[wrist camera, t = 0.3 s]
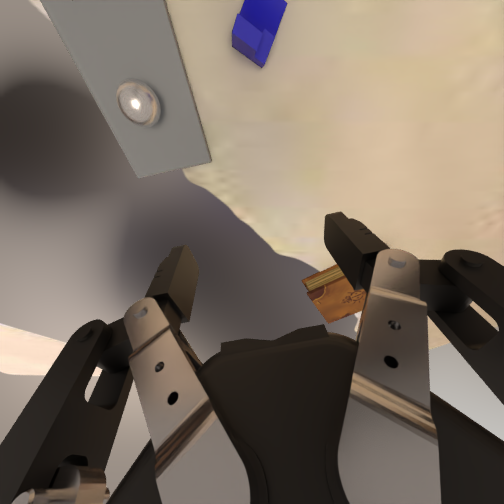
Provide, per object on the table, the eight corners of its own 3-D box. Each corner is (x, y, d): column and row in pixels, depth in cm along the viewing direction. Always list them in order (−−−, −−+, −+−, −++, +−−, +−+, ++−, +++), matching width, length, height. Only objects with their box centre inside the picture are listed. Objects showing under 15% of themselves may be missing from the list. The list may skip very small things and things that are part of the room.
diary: (322, 309, 65) (329, 324, 60) (301, 279, 55) (307, 295, 50) (391, 281, 59) (405, 296, 54) (382, 241, 48) (398, 255, 44)
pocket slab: (-34, -152, 16) (-55, -172, 15) (107, -198, 16) (97, -222, 14) (141, 175, 34) (138, 178, 32) (211, 160, 33) (210, 162, 32)
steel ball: (118, 85, 25) (97, 81, 21) (154, 76, 25) (139, 71, 21) (139, 129, 28) (124, 132, 24) (171, 121, 28) (161, 124, 24)
